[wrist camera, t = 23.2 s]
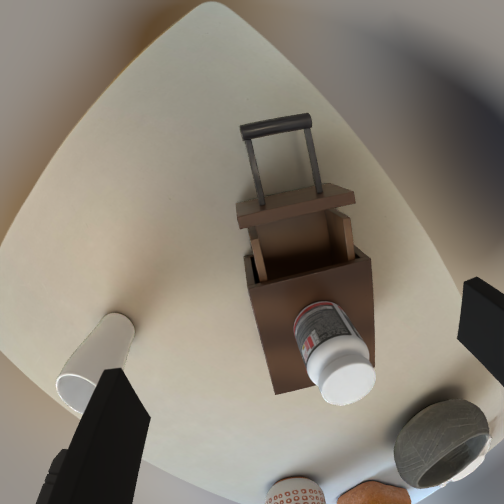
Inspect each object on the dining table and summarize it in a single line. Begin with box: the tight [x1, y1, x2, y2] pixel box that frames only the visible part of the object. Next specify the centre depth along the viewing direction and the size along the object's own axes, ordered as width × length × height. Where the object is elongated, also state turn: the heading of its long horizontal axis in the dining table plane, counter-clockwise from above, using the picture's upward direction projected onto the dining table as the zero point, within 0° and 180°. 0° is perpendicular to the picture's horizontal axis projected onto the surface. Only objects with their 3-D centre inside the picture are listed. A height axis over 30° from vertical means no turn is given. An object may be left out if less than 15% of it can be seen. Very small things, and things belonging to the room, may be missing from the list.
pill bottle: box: [294, 301, 376, 405], centre depth 27 cm, size 6×6×10 cm
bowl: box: [394, 399, 489, 489], centre depth 46 cm, size 21×21×15 cm
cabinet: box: [244, 245, 375, 395], centre depth 37 cm, size 15×13×10 cm
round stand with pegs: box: [439, 434, 492, 488], centre depth 60 cm, size 24×24×7 cm
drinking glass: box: [56, 313, 135, 414], centre depth 34 cm, size 7×7×15 cm
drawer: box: [236, 113, 355, 283], centre depth 33 cm, size 22×11×8 cm, turn 13°
